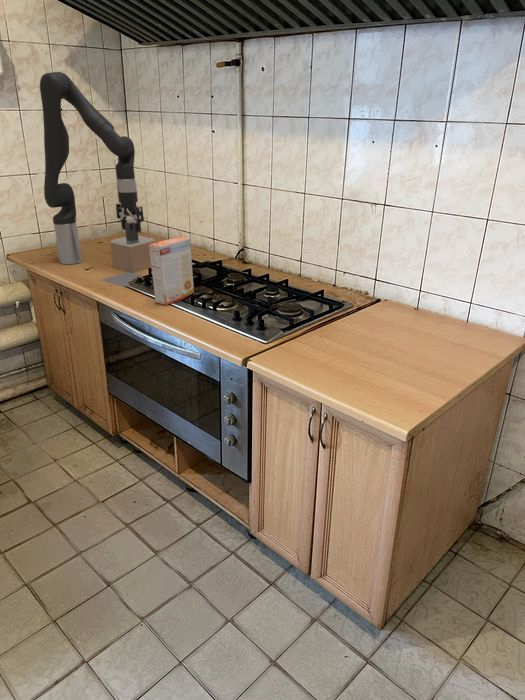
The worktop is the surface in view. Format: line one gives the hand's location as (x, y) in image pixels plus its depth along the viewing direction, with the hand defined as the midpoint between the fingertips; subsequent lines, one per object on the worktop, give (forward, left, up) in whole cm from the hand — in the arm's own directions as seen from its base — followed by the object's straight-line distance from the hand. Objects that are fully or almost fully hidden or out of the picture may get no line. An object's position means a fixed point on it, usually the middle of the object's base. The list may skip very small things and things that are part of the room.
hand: (131, 230), depth 219 cm
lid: (0, 0, -5) cm, 5 cm away
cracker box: (+43, -18, -16) cm, 49 cm away
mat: (+11, -14, -16) cm, 23 cm away
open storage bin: (0, 0, -16) cm, 16 cm away
